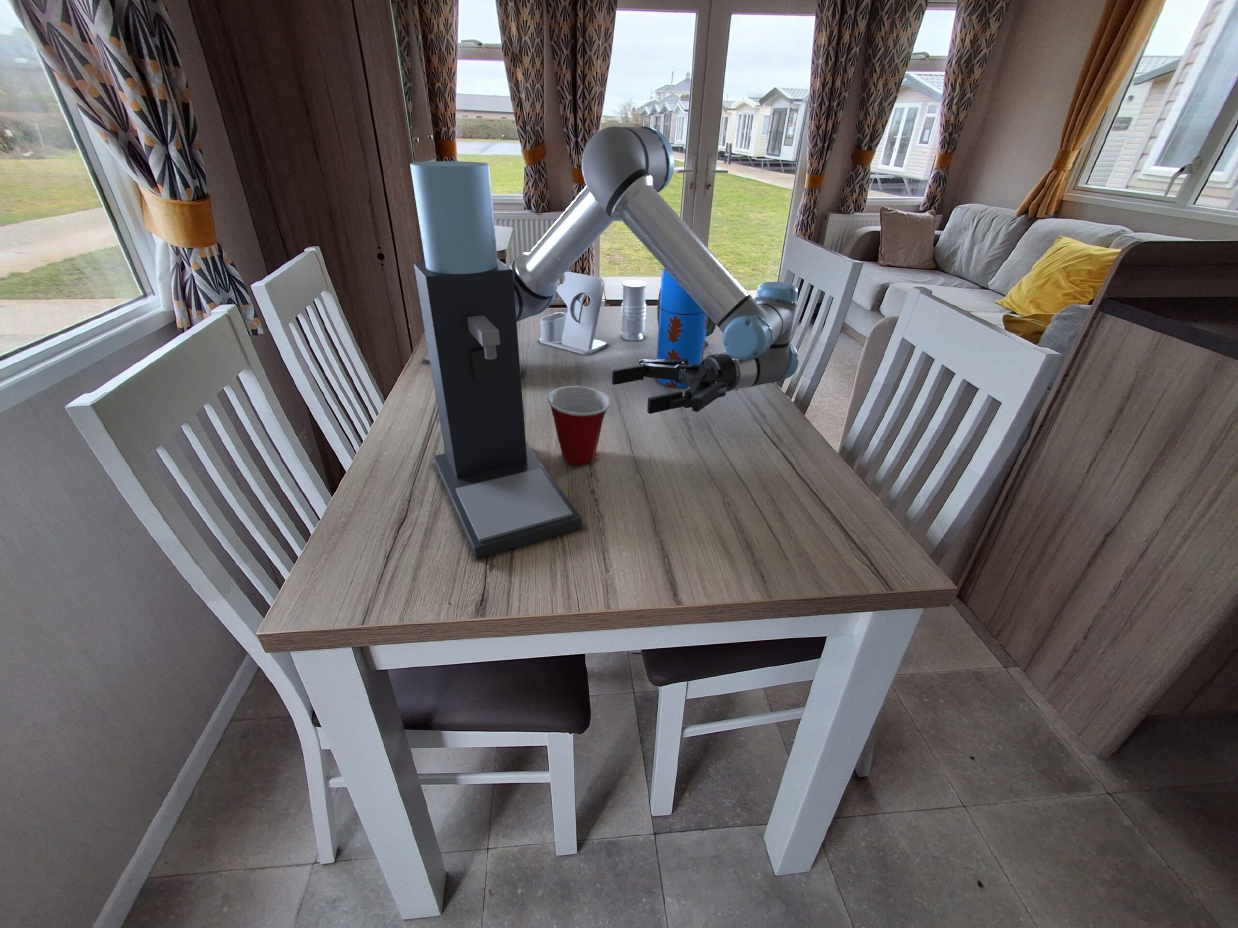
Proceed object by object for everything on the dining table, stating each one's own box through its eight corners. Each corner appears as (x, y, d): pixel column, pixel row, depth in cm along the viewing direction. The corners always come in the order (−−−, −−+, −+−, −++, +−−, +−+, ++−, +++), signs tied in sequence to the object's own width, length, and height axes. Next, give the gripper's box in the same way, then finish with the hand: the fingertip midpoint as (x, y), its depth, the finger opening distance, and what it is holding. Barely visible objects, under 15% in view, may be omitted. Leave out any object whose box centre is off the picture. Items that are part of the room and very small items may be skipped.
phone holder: (536, 341, 154) (532, 274, 145) (560, 332, 161) (557, 268, 152) (586, 355, 146) (585, 285, 136) (608, 345, 153) (609, 277, 144)
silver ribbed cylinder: (632, 331, 163) (634, 279, 155) (649, 337, 159) (652, 284, 151) (615, 336, 159) (616, 283, 151) (633, 342, 155) (634, 288, 147)
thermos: (649, 383, 131) (655, 273, 118) (663, 367, 140) (670, 264, 126) (694, 391, 128) (705, 279, 115) (706, 374, 136) (717, 268, 123)
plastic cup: (602, 477, 96) (602, 414, 90) (542, 469, 98) (538, 407, 91) (615, 446, 105) (616, 387, 99) (560, 440, 107) (557, 381, 100)
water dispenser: (434, 464, 98) (380, 161, 74) (521, 445, 105) (498, 161, 80) (476, 559, 77) (419, 179, 53) (581, 528, 84) (575, 177, 59)
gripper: (766, 415, 100) (664, 440, 92) (689, 368, 119) (599, 385, 111) (772, 376, 96) (667, 398, 88) (692, 334, 115) (599, 349, 107)
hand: (629, 391), depth 99 cm, fingers open, 13 cm apart
